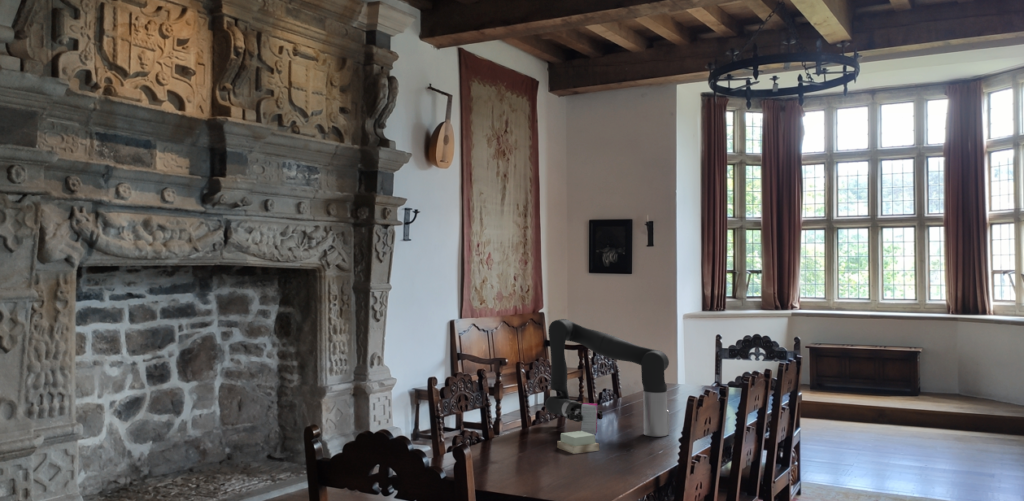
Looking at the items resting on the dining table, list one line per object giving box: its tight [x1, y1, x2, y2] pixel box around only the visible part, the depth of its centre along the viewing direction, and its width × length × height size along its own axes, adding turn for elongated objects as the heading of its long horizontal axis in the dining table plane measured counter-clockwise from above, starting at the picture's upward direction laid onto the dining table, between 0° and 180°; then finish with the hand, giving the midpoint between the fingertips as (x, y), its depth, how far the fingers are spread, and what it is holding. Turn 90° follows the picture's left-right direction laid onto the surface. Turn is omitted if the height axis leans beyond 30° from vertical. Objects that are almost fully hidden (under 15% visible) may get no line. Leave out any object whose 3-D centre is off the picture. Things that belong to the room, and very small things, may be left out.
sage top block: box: [560, 430, 596, 446], centre depth 281 cm, size 9×9×3 cm
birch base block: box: [556, 440, 600, 455], centre depth 281 cm, size 11×11×3 cm
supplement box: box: [580, 402, 598, 436], centre depth 297 cm, size 6×6×12 cm
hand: (591, 417), depth 295 cm, fingers closed on supplement box, 7 cm apart
